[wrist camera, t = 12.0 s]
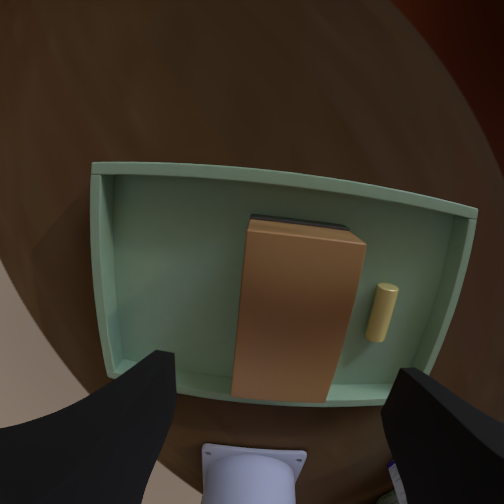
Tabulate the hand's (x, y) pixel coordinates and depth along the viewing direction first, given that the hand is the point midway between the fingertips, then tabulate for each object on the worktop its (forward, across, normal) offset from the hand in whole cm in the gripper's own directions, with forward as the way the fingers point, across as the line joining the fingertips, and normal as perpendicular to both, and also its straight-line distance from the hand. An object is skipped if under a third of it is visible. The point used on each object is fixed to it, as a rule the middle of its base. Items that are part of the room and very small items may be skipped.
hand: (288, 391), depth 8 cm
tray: (+7, 0, 0) cm, 7 cm away
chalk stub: (+6, -5, 0) cm, 8 cm away
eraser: (+7, 0, 0) cm, 7 cm away
